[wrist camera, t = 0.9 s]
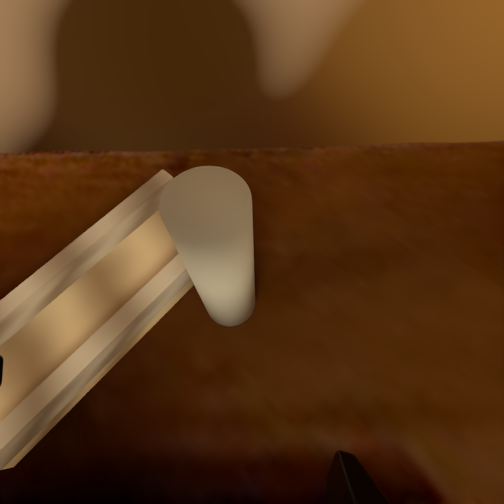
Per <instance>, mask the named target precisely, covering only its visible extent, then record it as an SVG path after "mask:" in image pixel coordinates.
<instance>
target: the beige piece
mask: <svg viewBox="0 0 504 504" xmlns="http://www.w3.org/2000/svg"><path fill="white" fill-rule="evenodd" d="M159 211H160V216H161V218H162V221H163V223H164V225H165V227H166V229H167V231H168V233H169V235H170V237H171V239H172V241H173V243H174V245H175V247H176V249H177V251H178V253H179V255H180V257H181V259H182V261H183V263H184V265H185V267H186V269H187V271H188V273H189V275H190V277H191V279H192V281H193V283H194V285H195V287H196V289H197V291H198V293H199V295H200V298H201V300H202V302H203V304H204V306H205V308H206V310H207V312H208V314H209V315H210V317H211V318H212V319H213V320H214V321H215V322H216V323H218V324H220V325H223V326H236V325H239V324H242V323H243V322H245V321H246V320H247V319H248V318H249V317H250V316H251V315H252V313H253V311H254V308H255V278H254V247H253V216H252V196H251V192H250V189H249V187H248V185H247V183H246V182H245V181H244V180H243V179H242V178H241V177H240V176H239V175H238V174H236V173H235V172H233V171H231V170H229V169H226V168H223V167H218V166H200V167H196V168H192V169H189V170H187V171H184V172H182V173H181V174H179V175H178V176H176V177H175V178H174V179H173V180H172V181H170V183H169V184H168V185H167V186H166V188H165V189H164V191H163V193H162V195H161V198H160V204H159Z"/></svg>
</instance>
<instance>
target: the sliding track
mask: <svg viewBox="0 0 504 504" xmlns="http://www.w3.org/2000/svg"><path fill="white" fill-rule="evenodd" d="M173 179H174V178H173V177H172V176H171V175H170V174H168V173H167V172H166V171H164V170H163V169H162V170H161V171H160V172H158V173H157V174H156V175H155V176H154V177H152V178H151V179H150V180H149V181H147V182H146V183H145V184H144V185H142V186H141V187H140V188H139V189H137V190H136V191H135V192H134V193H133V194H131V195H130V196H129V197H128V198H126V199H125V200H124V201H123V202H121V203H120V204H119V205H118V206H116V207H115V208H114V209H113V210H112V211H110V212H109V213H108V214H107V215H105V216H104V217H103V218H102V219H100V220H99V221H98V222H97V223H95V224H94V225H93V226H92V227H91V228H89V229H88V230H87V231H86V232H84V233H83V234H82V235H81V236H79V237H78V238H77V239H76V240H74V241H73V242H72V243H71V244H69V245H68V246H67V247H66V248H65V249H63V250H62V251H61V252H60V253H58V254H57V255H56V256H55V257H53V258H52V259H51V260H50V261H48V262H47V263H46V264H45V265H44V266H42V267H41V268H40V269H39V270H37V271H36V272H35V273H34V274H32V275H31V276H30V277H29V278H27V279H26V280H25V281H24V282H23V283H21V284H20V285H19V286H18V287H16V288H15V289H14V290H13V291H11V292H10V293H9V294H8V295H6V296H5V297H4V298H3V299H2V300H0V355H1V356H2V357H3V360H4V362H3V376H2V384H1V386H0V470H3V469H7V468H12V467H14V466H15V465H16V464H17V463H18V462H19V461H20V460H21V459H22V458H23V457H24V456H25V455H26V454H27V453H28V452H29V451H30V450H31V449H32V448H33V447H34V446H35V445H36V444H37V443H38V442H39V441H40V440H41V439H42V438H43V437H44V436H45V435H46V434H47V433H48V432H49V431H50V430H51V429H52V428H53V427H54V426H55V425H56V424H57V423H58V422H59V421H60V420H61V419H62V418H63V417H64V416H65V415H66V414H67V413H68V412H69V411H70V410H71V409H72V408H73V407H74V406H75V405H76V404H77V403H78V402H79V401H80V400H81V399H82V397H83V396H84V395H85V394H86V393H87V392H88V391H89V390H90V389H91V388H92V387H93V386H94V385H95V384H96V383H97V382H98V381H99V380H100V379H101V378H102V377H103V376H104V375H105V374H106V373H107V372H108V371H109V370H110V369H111V368H112V367H113V366H114V365H115V364H116V363H117V362H118V361H119V360H120V359H121V358H122V357H123V356H124V355H125V354H126V353H127V352H128V351H129V350H130V349H131V348H132V347H133V346H134V345H135V344H136V343H137V342H138V341H139V340H140V339H141V338H142V337H143V336H144V335H145V334H146V333H147V332H148V331H149V330H150V329H151V328H152V327H153V326H154V325H155V324H156V323H157V322H158V321H159V320H160V319H161V318H162V317H163V316H164V315H165V314H166V313H167V312H168V311H169V310H170V309H171V308H172V307H173V306H174V305H175V304H176V303H177V302H178V301H179V300H180V298H181V297H182V296H183V295H184V294H185V293H186V292H187V291H188V290H189V289H190V288H191V287H192V286H193V285H194V283H193V281H192V279H191V277H190V275H189V273H188V271H187V269H186V267H185V265H184V263H183V261H182V259H181V257H180V255H179V253H178V251H177V249H176V247H175V245H174V243H173V241H172V239H171V237H170V235H169V233H168V231H167V229H166V227H165V225H164V223H163V221H162V218H161V216H160V211H159V204H160V198H161V195H162V193H163V191H164V189H165V188H166V186H167V185H168V184H169V183H170V181H172V180H173Z"/></svg>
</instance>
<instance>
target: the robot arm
mask: <svg viewBox="0 0 504 504" xmlns="http://www.w3.org/2000/svg"><path fill="white" fill-rule="evenodd" d="M3 362H4V360H3V357H2V356H1V355H0V386H1V384H2V376H3ZM326 504H390V502H389V501H388V500H387V498H386V497H385V495H384V494H383V493H382V491H381V490H380V489H379V487H378V486H377V485H376V483H375V482H374V481H373V479H372V478H371V477H370V475H369V474H368V473H367V471H366V470H365V469H364V467H363V466H362V465H361V463H360V462H359V460H358V459H357V458H356V457H355V455H353V454H351V453H348V452H344V451H341V450H339V451H337V452H336V453H335V455H334V458H333V461H332V464H331V467H330V470H329V473H328V477H327V482H326Z"/></svg>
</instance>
